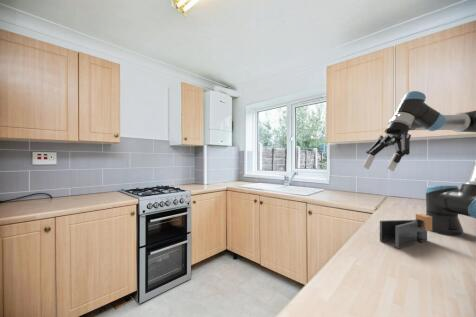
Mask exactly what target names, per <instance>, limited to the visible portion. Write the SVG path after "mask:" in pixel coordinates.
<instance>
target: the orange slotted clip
mask: <svg viewBox="0 0 476 317" xmlns="http://www.w3.org/2000/svg"><path fill="white" fill-rule="evenodd" d="M415 220H422V221H424V230H425V231H427V232H431V231H432V216H428V215H426V214H425V213H424V214H423V213H416V214H415Z"/></svg>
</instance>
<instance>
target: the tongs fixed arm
mask: <svg viewBox="0 0 476 317" xmlns="http://www.w3.org/2000/svg"><path fill="white" fill-rule="evenodd" d="M413 221H416V222H418V242H417V243H419V244H420V243H423V242H426V241H428V231H425V230H424V221H422V220H416V219H397V220H396V219H395V220H392V219H391V220H390V219H389V220H379V242H381V243H389V242H390V243H393V242H395V226H397V225H401V224H405V223H409V222H413Z"/></svg>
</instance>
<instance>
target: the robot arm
mask: <svg viewBox="0 0 476 317" xmlns="http://www.w3.org/2000/svg"><path fill="white" fill-rule="evenodd" d="M425 101H426V94H425V93H424V92H421V91H417V90H412V91H409V92H406V93H405V94H404V96H403V97H402V98H401V100H400V103H399V104H398V106H397V108H396V110H395V112H394V115H393V117H391V118H390V119H389V120H388V123H387V127H386V134H385V135H379V136H378V138H377V139H376V140H375V142H374V143H372V145H370V147H369V148H368V149H367V150H366V151H365V153H366V154H367V156H366V158H365V161H364V163H363V164H362V167H363V168H365V169H366V170H369V169H370V167H371V166H372V163H373V161H374V159H375V158H376V157H375V156H376V155H378V153H380V152H381V151H383V150H384V148H388V147H389V146H394V148H395V152H394V153H393V155H392V157H391V158H390V161H389V163H388V164H387V166H386V168H387V169H388V170H390V171H391V172H394V171H395V169H396V168H397V166H398V164H399V163H400V161H402V160H401V159H402V158H403V157H404V156H408V155H410V147H411V146H410V145H411V142H410V139H411V137H412V134H410V133H409V131H429V132H434V131H453V132H456V133H458V132H459V133H461V132H462V133H476V109H475V110H471V111H465V112H457V113H455V114H442V113H441V112H439V111H437V110H436V109H434V108H433V107H431V106H430V105H428V104H427V103H426V102H425ZM425 190H426V191H425V209H426V210H425V215H428V216H432V231H430V232H431V233H435V234H440V235H446V236H455V237H458V236H463V235H464V229H463V227H462V224H461V221H460V219H459V215H461V216H466V217H470V218H473V219H476V162H475V163H474V166H473V168H472V171H471V173H470V176H469V179H468V180H467V182H464V183H461V186H460V188H459V186H458V185H429V186H427V187H426V189H425Z"/></svg>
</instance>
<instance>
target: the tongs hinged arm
mask: <svg viewBox="0 0 476 317" xmlns="http://www.w3.org/2000/svg"><path fill="white" fill-rule="evenodd" d="M415 243H419V242H418V222H416V221H413V222H409V223H405V224H401V225H397V226H395V244H394V246H395V247H394V248H396V249H401V248H403V247H406V246H409V245H412V244H415Z"/></svg>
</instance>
